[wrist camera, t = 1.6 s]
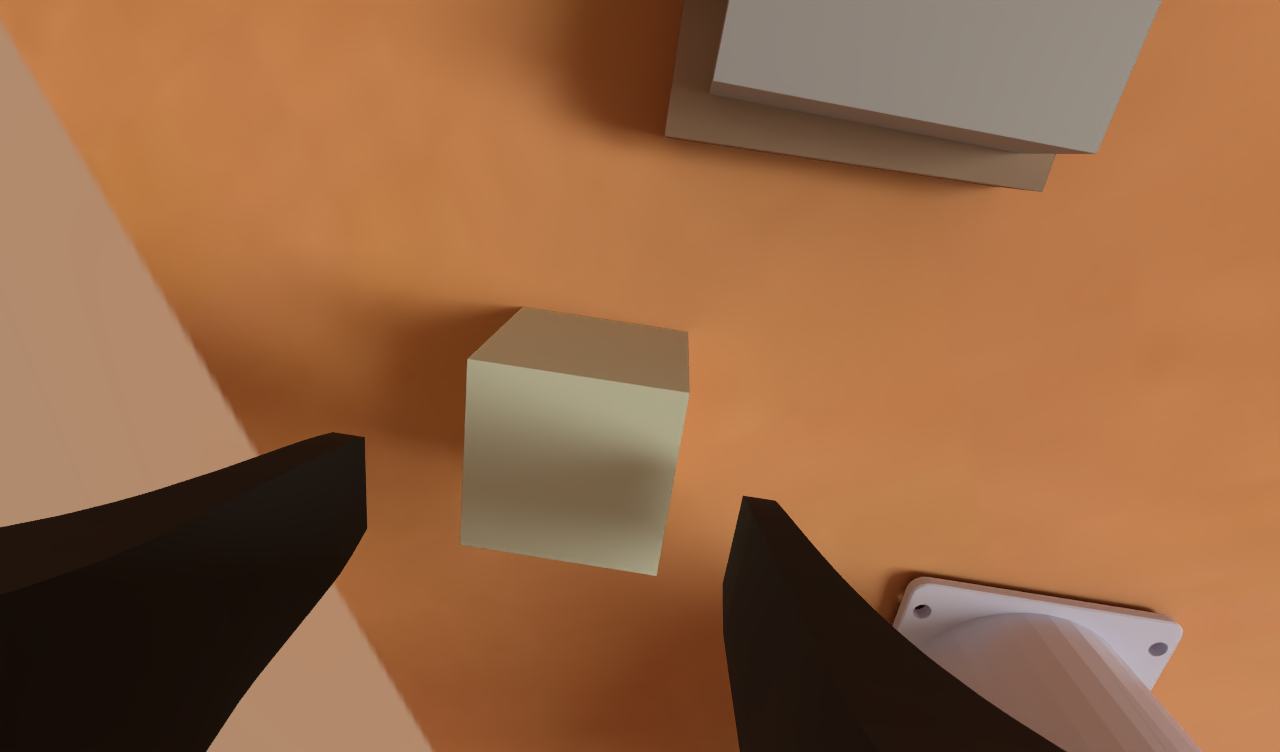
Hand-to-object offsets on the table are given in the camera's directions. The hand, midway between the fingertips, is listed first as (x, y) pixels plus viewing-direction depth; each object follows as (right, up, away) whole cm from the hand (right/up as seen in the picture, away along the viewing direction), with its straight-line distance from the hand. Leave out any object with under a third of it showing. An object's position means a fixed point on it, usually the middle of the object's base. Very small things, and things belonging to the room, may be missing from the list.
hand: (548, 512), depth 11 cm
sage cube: (0, +2, +6) cm, 6 cm away
